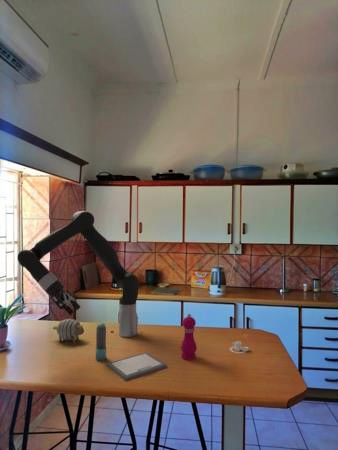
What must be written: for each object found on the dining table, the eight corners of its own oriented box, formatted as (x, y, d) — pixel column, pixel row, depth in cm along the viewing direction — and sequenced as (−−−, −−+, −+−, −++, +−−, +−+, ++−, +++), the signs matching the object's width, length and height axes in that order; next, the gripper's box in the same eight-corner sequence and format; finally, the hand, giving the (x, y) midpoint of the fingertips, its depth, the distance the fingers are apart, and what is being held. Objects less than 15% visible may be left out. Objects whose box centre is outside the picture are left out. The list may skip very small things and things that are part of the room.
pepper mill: (198, 355, 148) (198, 312, 148) (194, 361, 141) (194, 316, 141) (183, 353, 150) (183, 310, 150) (178, 359, 144) (179, 315, 143)
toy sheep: (79, 345, 159) (80, 323, 159) (47, 343, 160) (47, 321, 160) (87, 337, 169) (87, 316, 169) (57, 336, 171) (57, 315, 171)
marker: (103, 355, 147) (103, 321, 147) (107, 359, 143) (108, 324, 143) (93, 358, 144) (94, 323, 144) (98, 361, 140) (98, 326, 140)
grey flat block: (146, 354, 149) (146, 350, 149) (166, 367, 136) (166, 362, 136) (106, 365, 137) (106, 361, 136) (125, 380, 124) (125, 376, 124)
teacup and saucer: (250, 351, 155) (251, 342, 155) (242, 356, 149) (242, 347, 149) (235, 346, 161) (235, 338, 161) (226, 350, 155) (226, 342, 155)
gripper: (50, 282, 137) (76, 309, 137) (63, 276, 151) (86, 301, 151) (38, 294, 137) (63, 321, 137) (52, 287, 152) (75, 312, 151)
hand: (75, 311), depth 144 cm, fingers open, 8 cm apart
